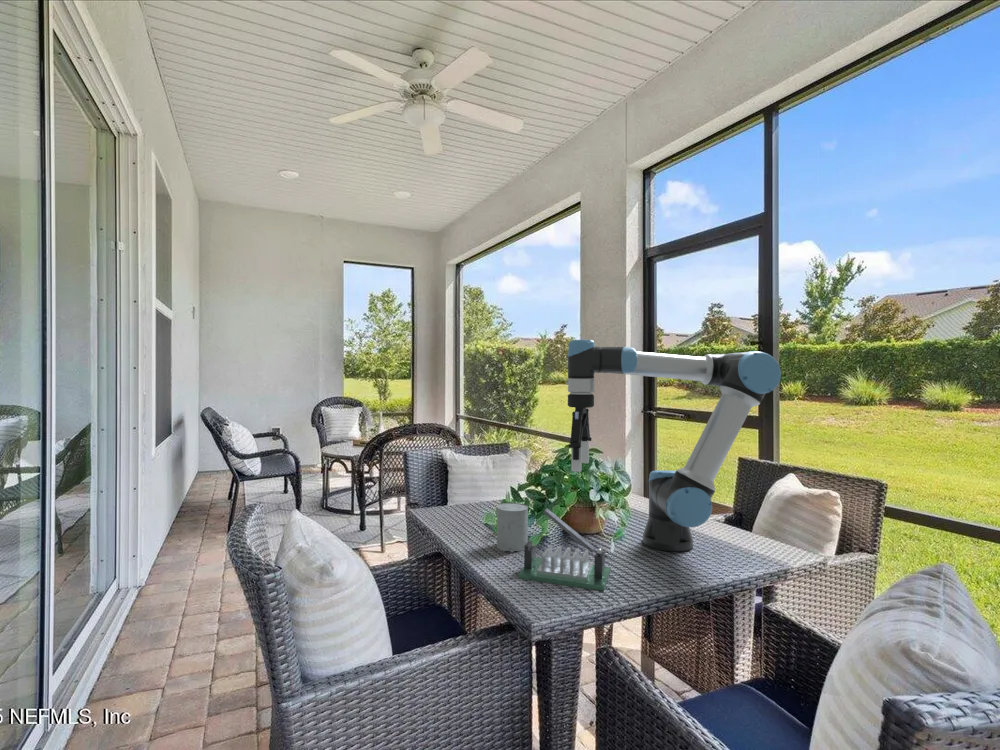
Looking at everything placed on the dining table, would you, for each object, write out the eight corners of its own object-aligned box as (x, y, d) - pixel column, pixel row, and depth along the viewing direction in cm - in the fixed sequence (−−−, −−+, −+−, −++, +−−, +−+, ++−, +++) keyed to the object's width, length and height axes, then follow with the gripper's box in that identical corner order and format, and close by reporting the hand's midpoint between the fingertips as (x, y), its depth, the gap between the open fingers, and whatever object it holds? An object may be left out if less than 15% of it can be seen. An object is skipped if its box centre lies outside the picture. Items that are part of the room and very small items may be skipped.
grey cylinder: (504, 539, 166) (505, 501, 166) (532, 544, 162) (532, 505, 162) (491, 549, 157) (491, 508, 157) (520, 554, 153) (520, 512, 153)
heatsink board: (610, 571, 140) (610, 545, 140) (603, 591, 128) (604, 562, 128) (532, 561, 148) (532, 535, 148) (518, 578, 135) (518, 550, 135)
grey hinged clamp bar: (599, 554, 137) (603, 548, 136) (597, 558, 134) (602, 553, 133) (545, 509, 141) (549, 504, 141) (542, 513, 138) (546, 507, 138)
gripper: (575, 391, 163) (574, 459, 163) (559, 395, 139) (558, 474, 139) (599, 391, 160) (599, 460, 161) (587, 395, 137) (586, 476, 137)
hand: (580, 467), depth 150 cm, fingers open, 13 cm apart
